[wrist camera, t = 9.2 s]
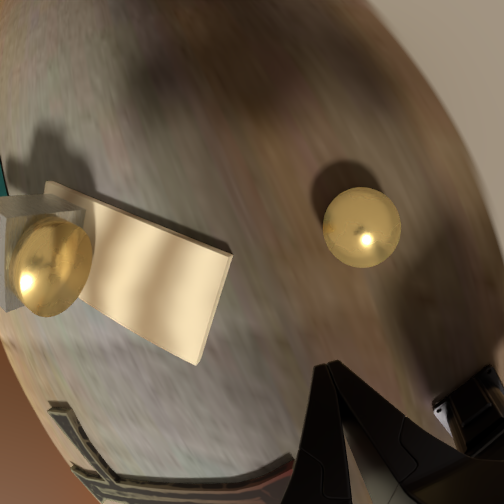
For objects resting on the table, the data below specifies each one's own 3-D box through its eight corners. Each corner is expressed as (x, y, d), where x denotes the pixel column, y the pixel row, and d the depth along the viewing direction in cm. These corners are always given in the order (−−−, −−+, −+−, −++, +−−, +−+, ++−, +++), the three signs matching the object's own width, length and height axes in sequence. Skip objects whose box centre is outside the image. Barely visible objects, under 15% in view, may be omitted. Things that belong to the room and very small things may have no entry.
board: (233, 254, 23) (228, 257, 22) (200, 360, 25) (195, 365, 24) (52, 181, 27) (45, 181, 26) (42, 265, 29) (35, 266, 29)
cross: (355, 545, 24) (139, 536, 38) (356, 536, 26) (143, 531, 40) (224, 368, 23) (28, 413, 37) (231, 358, 25) (34, 409, 39)
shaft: (98, 219, 23) (23, 230, 16) (87, 301, 25) (23, 329, 18) (11, 177, 27) (-42, 179, 19) (5, 240, 29) (-45, 250, 21)
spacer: (407, 228, 19) (415, 232, 17) (355, 274, 21) (357, 283, 19) (361, 173, 20) (364, 170, 17) (309, 221, 21) (306, 223, 19)
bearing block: (86, 209, 25) (6, 218, 16) (75, 286, 27) (6, 312, 18) (51, 193, 26) (-20, 198, 17) (43, 263, 28) (-21, 281, 19)
